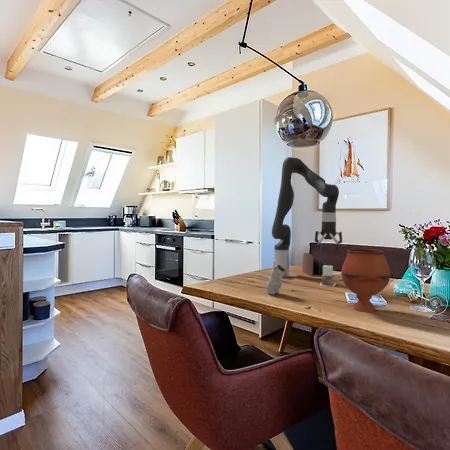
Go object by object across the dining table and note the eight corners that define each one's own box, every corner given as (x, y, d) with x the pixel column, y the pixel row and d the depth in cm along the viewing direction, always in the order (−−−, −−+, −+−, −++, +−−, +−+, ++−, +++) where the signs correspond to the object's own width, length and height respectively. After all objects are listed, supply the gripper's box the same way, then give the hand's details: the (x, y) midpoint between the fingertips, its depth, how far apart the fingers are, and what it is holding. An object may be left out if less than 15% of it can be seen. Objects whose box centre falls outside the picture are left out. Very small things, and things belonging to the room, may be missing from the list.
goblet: (365, 318, 127) (366, 253, 126) (330, 305, 145) (331, 248, 144) (400, 312, 135) (401, 251, 134) (363, 301, 152) (364, 247, 152)
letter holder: (312, 277, 212) (312, 255, 211) (302, 271, 231) (302, 251, 231) (327, 277, 212) (327, 255, 212) (316, 271, 232) (316, 251, 232)
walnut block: (321, 284, 182) (321, 275, 182) (322, 282, 187) (322, 273, 187) (333, 285, 180) (333, 276, 179) (333, 283, 185) (333, 274, 185)
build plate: (301, 287, 180) (301, 285, 180) (305, 282, 195) (305, 280, 195) (340, 291, 173) (340, 288, 173) (341, 284, 187) (341, 282, 187)
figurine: (273, 297, 160) (273, 266, 159) (262, 292, 169) (262, 263, 168) (288, 295, 164) (288, 264, 163) (276, 291, 173) (276, 262, 172)
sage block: (322, 275, 182) (322, 266, 182) (323, 274, 187) (323, 265, 186) (332, 276, 180) (332, 267, 180) (332, 274, 185) (332, 265, 185)
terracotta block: (331, 282, 194) (331, 274, 194) (329, 281, 199) (329, 272, 199) (340, 282, 194) (340, 274, 193) (338, 281, 199) (338, 272, 198)
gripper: (314, 220, 181) (314, 250, 182) (342, 221, 176) (341, 251, 177) (316, 220, 188) (315, 249, 189) (342, 221, 183) (342, 250, 184)
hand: (328, 250), depth 183 cm, fingers open, 8 cm apart
